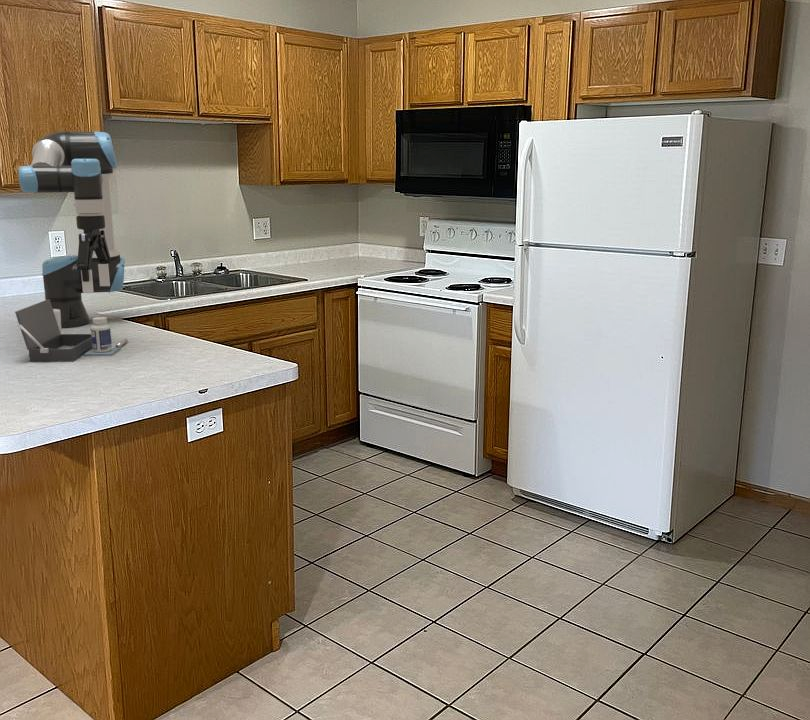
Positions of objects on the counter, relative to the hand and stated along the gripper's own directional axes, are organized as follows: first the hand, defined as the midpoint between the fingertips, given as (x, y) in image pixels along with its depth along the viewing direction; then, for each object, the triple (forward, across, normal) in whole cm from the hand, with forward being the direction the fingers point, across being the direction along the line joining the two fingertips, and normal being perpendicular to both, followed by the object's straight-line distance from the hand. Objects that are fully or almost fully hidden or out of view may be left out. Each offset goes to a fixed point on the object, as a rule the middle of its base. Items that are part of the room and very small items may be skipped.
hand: (96, 289), depth 235 cm
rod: (+19, -10, +3) cm, 21 cm away
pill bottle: (+18, 0, 0) cm, 18 cm away
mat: (+19, 0, 0) cm, 19 cm away
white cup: (+19, -15, -21) cm, 32 cm away
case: (+19, +1, -12) cm, 22 cm away
